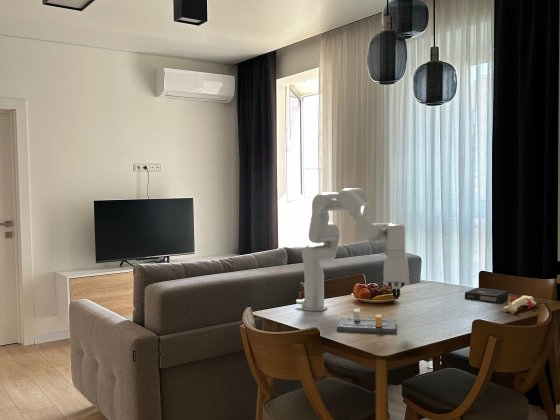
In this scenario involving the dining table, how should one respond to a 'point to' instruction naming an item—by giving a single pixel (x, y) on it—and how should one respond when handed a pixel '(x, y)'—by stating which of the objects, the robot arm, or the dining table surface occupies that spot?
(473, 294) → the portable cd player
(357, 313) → the cream fader
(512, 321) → the dining table surface
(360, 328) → the console
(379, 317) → the orange fader
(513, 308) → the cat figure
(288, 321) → the dining table surface
